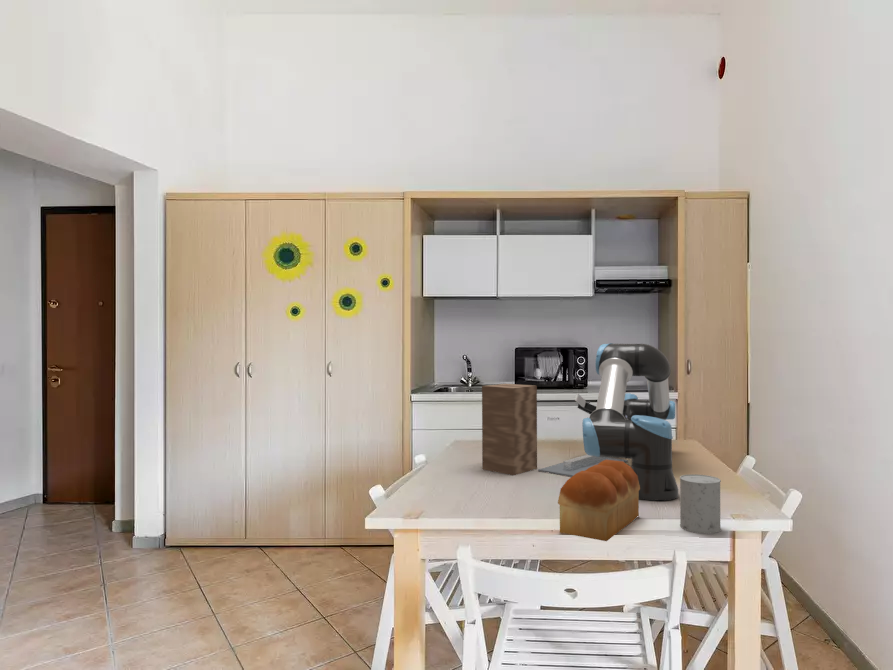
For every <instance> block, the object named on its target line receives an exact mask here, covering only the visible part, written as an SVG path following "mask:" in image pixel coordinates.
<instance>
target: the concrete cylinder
mask: <svg viewBox="0 0 893 670" xmlns="http://www.w3.org/2000/svg"><path fill="white" fill-rule="evenodd" d="M679 483H680V485H679V487H680V488H679V493H680V494H679V496H680V498H679V502H680V503H679V506H680V509H679V510H680V511H679V512H680V513H679V515H680V521H679V523H680V524H679V526H680V529H683V530H684V531H687V532H691V533H696V534H707V535H708V534H717V533H719V532H721V531H722V528H721V478H718V477H716V476H712V475H708V474H707V475H705V474H691V473H690V474H683V475H680V476H679Z"/></svg>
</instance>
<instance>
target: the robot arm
mask: <svg viewBox="0 0 893 670" xmlns="http://www.w3.org/2000/svg"><path fill="white" fill-rule="evenodd" d="M595 355H596V357H595V372H596V374H597V375H599V376H600V378H601V380H600V385H599V392H598V396H597V401H596V405H594V404H591V403H588V402H587V401H586V399H585V398H584V397H582V396H581V395H580V393H576V395H575V398H574V401H575V402H576V403H577V409H579V410H581V411H582V412H585V413H587V414H589V417H585V418H583V419H582V427H581V428H582V440H583V441H582V442H583V443H582V444H583V448H584V449H583V450H584V453H585V455H587V454H588V455H590V456H597V457H609V458H616V459H631V468H632V469H633V470H634V472H635V473H636V474H637V476H638V481H639V485H640V490H639V500H644V499H645V500H646V501H655V500H664V501H671V499H673V500H675V498H676V499H678V498H679V487H678V484H677V481H676V477H675V475H674V472H673V437H674V436H673V432H672V431H673V429H672V428H673V427H672V424H671V423H670V421H668V420H674V419H676V402H675V401H672V400H670V388H669V377H670V376H671V372H672V371H671V370H672V369H671V365H670V361H669V360H668V358H667V357H666V355H665V354H664V352H662V351H661V350H659V349H658V348H657V347H654V346H653V345H650V344H647V343H611V342H609V343H603V344H601V345H599V346H598V349H597V352H596V354H595ZM632 377H644V378H645V379H646V383H647V384H646V385H647V391H648V399H639V397H638V396H637V395H636V394H634V393H630V392H629V393H627V392H626V391H627V385H628V383H629V382H630V381H631V379H632ZM677 497H678V498H677Z"/></svg>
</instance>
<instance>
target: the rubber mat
mask: <svg viewBox="0 0 893 670" xmlns="http://www.w3.org/2000/svg"><path fill="white" fill-rule="evenodd" d="M607 460H615V461H623V462H624V463H625V462H626V463H628V462H629V460H627V459H624V458H612V457H607ZM601 462H602V461H601ZM599 463H600V462H598V463H595V464H592V465H588V466H585V467H582V468H579V469H576V470H572V471H568V470H563V462H560V463H556V464H553V465H550V466H545V467H542V468H537V470H538V472H540V471H542V473H546V472H549V473H548V474H552V473H555V474H554V475H558V474H560V475H559V476H563V475H566V476H565V477H569V476H574V475H575V474H576V473H578V472H580V471H585V470H587V469H588V468H590V467H592V466H594V465H598V464H599Z"/></svg>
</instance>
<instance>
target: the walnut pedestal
mask: <svg viewBox="0 0 893 670" xmlns="http://www.w3.org/2000/svg"><path fill="white" fill-rule="evenodd" d="M481 411H482V412H481V420H482V421H481V422H482V425H481V429H482V430H481V438H482V439H481V440H482V441H481V442H482V443H481V447H482V449H481V450H482V451H481V452H482V456H481V457H482V458H481V459H482V461H481V462H482V463H481V464H482V466H481V467H482V468H481V469H483V470H484V471H490V472H493V473H494V472H495V473H500V474H504V475H509V474H510V475H511V476H517V475H520V474H524V473H527V472H531V471H534V470H533V469H535V470H538V386H537V385H534V384H533V385H532V384H521V383H520V384H517V383H516V384H515V383H499V384H489V385H481ZM530 470H531V471H530ZM523 472H524V473H523ZM516 474H517V475H516Z"/></svg>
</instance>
